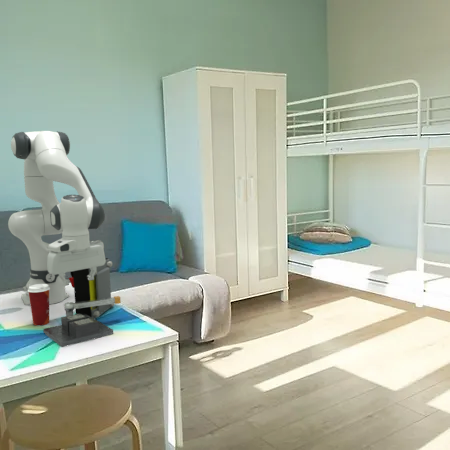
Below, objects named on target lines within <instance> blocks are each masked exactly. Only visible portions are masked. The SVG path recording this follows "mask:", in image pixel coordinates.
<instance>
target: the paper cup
mask: <svg viewBox="0 0 450 450" xmlns="http://www.w3.org/2000/svg"><path fill="white" fill-rule="evenodd" d="M49 289H50V288H49V286H48V284H36V285H31V286H29V288H28V292H29V298H30V312H31V318H32V324H33V325H34V326H37V325H40V326H44V325H48V324H49V323H50V304H49Z"/></svg>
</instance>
